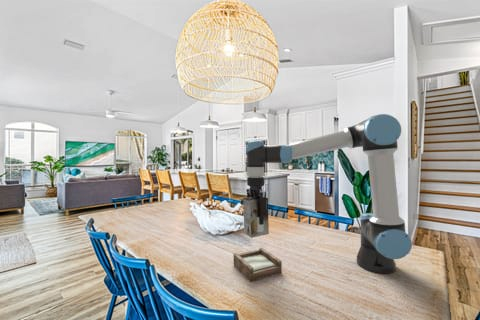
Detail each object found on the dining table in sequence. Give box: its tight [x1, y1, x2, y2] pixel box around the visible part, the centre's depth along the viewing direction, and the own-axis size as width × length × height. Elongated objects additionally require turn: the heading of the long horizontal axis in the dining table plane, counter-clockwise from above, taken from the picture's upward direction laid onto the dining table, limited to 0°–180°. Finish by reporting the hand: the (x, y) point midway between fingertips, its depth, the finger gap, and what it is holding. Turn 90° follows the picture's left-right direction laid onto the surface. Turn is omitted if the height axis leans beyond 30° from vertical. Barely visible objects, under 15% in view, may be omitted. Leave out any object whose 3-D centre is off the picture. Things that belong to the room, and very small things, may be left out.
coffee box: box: [243, 196, 270, 239], centre depth 101 cm, size 9×6×16 cm
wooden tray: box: [233, 247, 283, 283], centre depth 102 cm, size 16×15×5 cm
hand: (256, 229), depth 101 cm, fingers closed on coffee box, 6 cm apart
